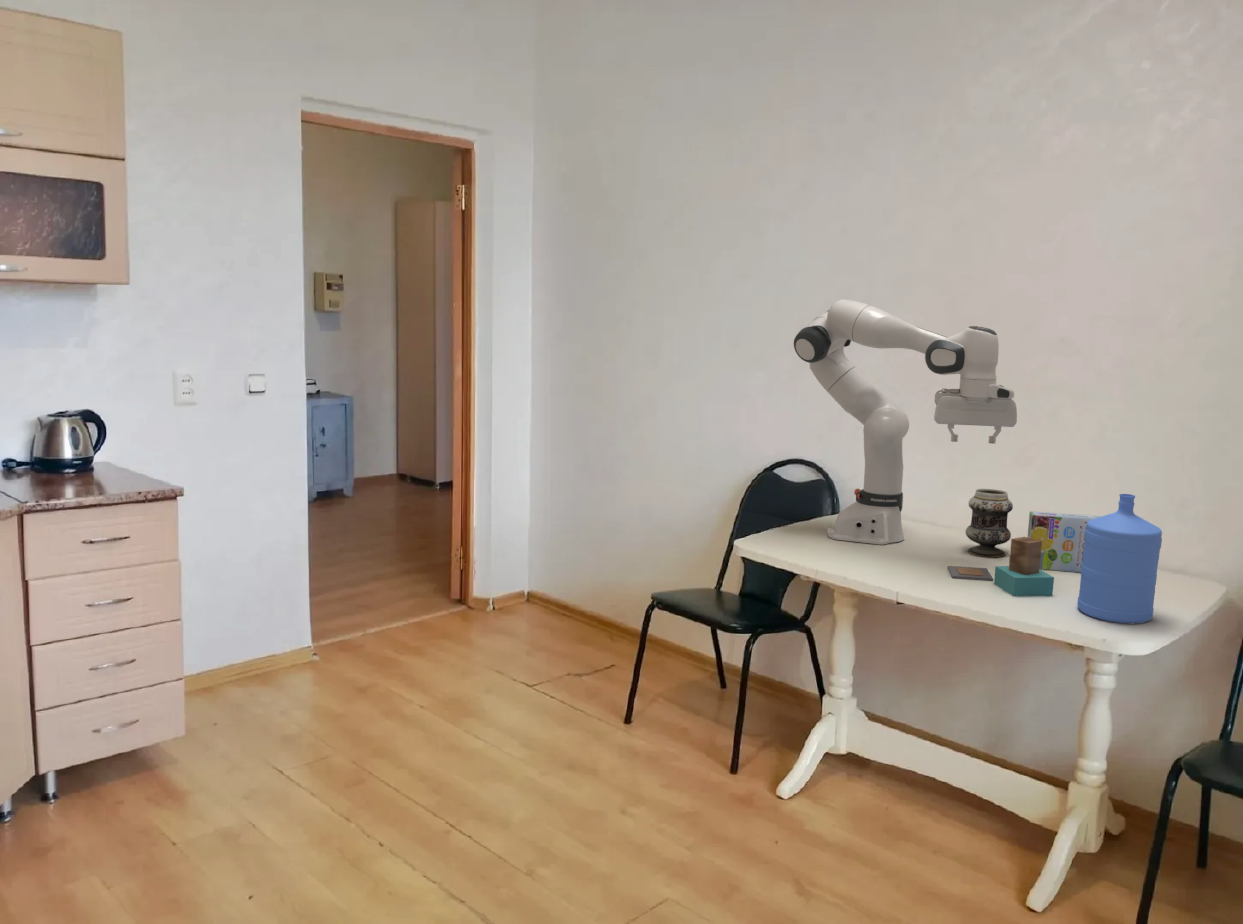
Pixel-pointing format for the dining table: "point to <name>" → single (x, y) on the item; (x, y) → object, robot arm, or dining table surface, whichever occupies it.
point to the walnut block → (1025, 555)
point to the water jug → (1120, 566)
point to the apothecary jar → (989, 522)
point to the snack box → (1060, 538)
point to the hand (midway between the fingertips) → (972, 442)
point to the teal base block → (1023, 582)
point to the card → (970, 573)
